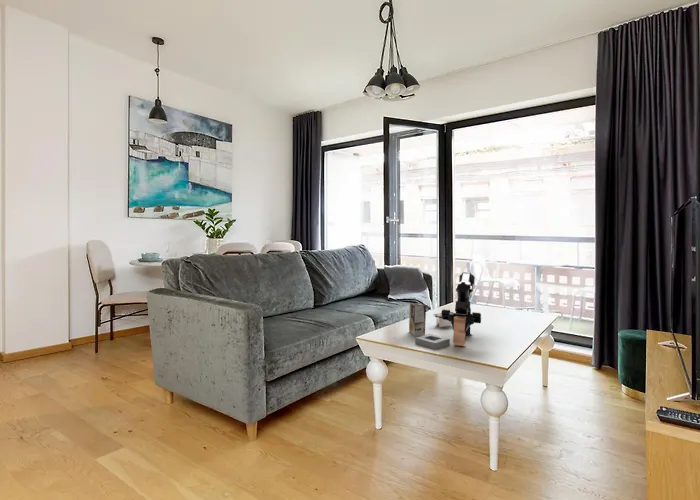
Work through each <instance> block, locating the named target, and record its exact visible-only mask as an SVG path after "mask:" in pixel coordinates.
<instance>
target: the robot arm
mask: <svg viewBox="0 0 700 500" xmlns="http://www.w3.org/2000/svg"><path fill="white" fill-rule="evenodd" d="M475 278H476V277H475V276H474V275H473V274H472V272H469V271H463V272H461V274H460V275H459V278H458V282H457V283H458V284H457V285H456V286H455V292H456V294H457V299H456V300H457V301H455V305H454V306H455V307H454V312H453V311H451V310H450V309H445V308H444V309H442V310H441V314H442V319H443V320H448V321H449V322H451V326H452V330H453V332H454V317H455V316H461V317H466V325H465V332H466V333H465V337H468V336H469V337H470V336H473V334H472V333H471V326H472V325H474V324H481V323H482V314H481V312H476V311H473V312H472V309H471V301H470V295H471V294H472V293H473V292H474V286H475V281H476V280H475Z"/></svg>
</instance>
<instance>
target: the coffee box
mask: <svg viewBox="0 0 700 500" xmlns="http://www.w3.org/2000/svg"><path fill="white" fill-rule="evenodd" d="M426 311H427V305H425V304H423V303H421V302H413V303H411V302H410V303H409V314H408V315H409V316H408V317H409V320H408V322H409V323H408V327H409V328H408V332H409V333H410V334H412V336H414V337H420V336H423V335H426V314H427V312H426Z"/></svg>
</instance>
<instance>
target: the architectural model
mask: <svg viewBox="0 0 700 500" xmlns="http://www.w3.org/2000/svg"><path fill="white" fill-rule="evenodd" d="M433 316H434V317H435V318H436V321H435V322H436V327H439V328H440V327H441V328H442V327H451V326H452V324H451V322H449V321H448V320H443V319H442V314H441V313H433Z"/></svg>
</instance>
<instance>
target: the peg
mask: <svg viewBox="0 0 700 500" xmlns="http://www.w3.org/2000/svg"><path fill="white" fill-rule="evenodd" d="M465 325H466V317H461V316H455V317H454V331H453V336H452V337H453V339H452V340H453V341H452V343H453V345H454V346H459V347H461V346H462V347H464V346H465V344H466V336H465V333H466V332H465Z"/></svg>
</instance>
